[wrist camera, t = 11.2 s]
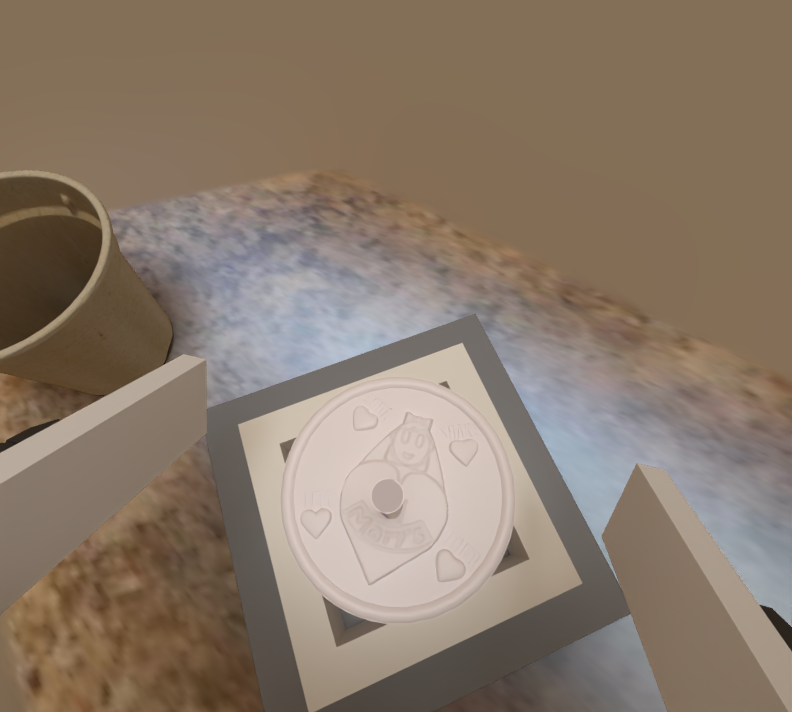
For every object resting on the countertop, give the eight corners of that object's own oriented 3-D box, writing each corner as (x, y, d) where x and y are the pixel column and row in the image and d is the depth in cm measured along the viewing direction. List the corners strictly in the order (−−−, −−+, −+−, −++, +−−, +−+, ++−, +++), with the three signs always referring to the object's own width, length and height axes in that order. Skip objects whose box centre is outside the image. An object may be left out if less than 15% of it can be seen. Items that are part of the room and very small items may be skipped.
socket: (621, 608, 19) (676, 626, 15) (286, 774, 17) (256, 842, 13) (472, 321, 25) (485, 285, 21) (208, 416, 23) (171, 394, 19)
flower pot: (133, 455, 22) (-17, 412, 14) (-1, 385, 23) (-206, 310, 15) (232, 313, 25) (157, 212, 17) (109, 259, 27) (-13, 144, 19)
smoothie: (311, 553, 19) (128, 606, 6) (357, 423, 21) (295, 263, 9) (445, 601, 18) (558, 775, 5) (478, 460, 21) (611, 347, 8)
